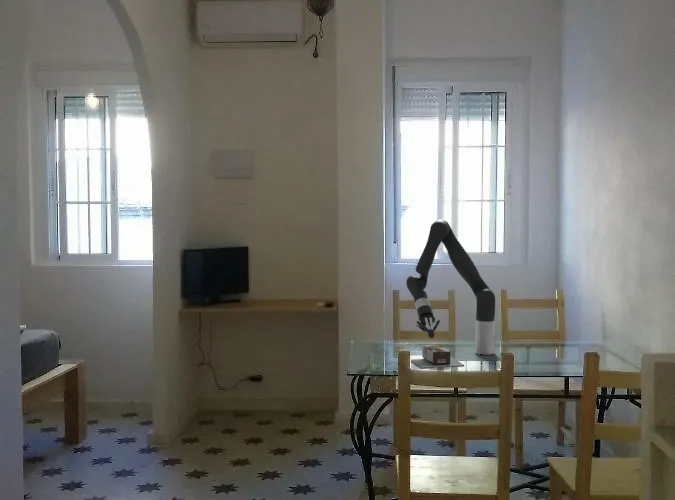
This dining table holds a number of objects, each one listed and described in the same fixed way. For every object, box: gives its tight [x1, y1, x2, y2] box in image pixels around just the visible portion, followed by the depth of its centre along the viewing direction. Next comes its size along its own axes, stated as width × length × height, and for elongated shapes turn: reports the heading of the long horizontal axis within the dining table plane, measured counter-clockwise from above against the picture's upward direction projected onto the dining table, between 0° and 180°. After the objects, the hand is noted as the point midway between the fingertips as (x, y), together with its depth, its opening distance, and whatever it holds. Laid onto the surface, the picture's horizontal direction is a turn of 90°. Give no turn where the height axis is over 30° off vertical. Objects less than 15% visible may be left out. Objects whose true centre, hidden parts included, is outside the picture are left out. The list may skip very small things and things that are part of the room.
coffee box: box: [421, 344, 451, 365], centre depth 376 cm, size 9×6×16 cm
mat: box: [410, 356, 465, 370], centre depth 374 cm, size 22×16×1 cm
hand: (432, 337), depth 382 cm, fingers closed
